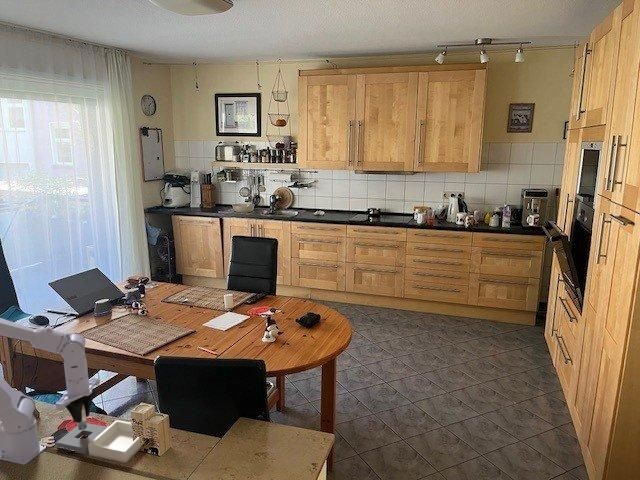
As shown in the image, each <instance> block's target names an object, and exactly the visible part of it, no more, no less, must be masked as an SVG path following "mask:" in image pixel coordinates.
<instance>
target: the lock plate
mask: <svg viewBox="0 0 640 480" xmlns="http://www.w3.org/2000/svg"><path fill="white" fill-rule="evenodd" d="M108 427H109V426H103V425H98V424H93V423H89V422H87V428H86V429H84V430H78V425H77V426H75V427H74V428H73V429H71V430H70V431H68V432H67V433H66V434H64V435H63V436H62V437H61V438H60V439H58V440H57V441H56V445H55V446H56V448H57V447H64V448H68V449H71V450H74V451H75V452H74V453H77V454H81V455H85V456H87V455H89V449H88V444H89V443H90V442H91V441H93V440H94V439H95V438H96V437H97V436H98V435H100V434H101V433H102V432H103V431H104V430H105V429H107V428H108ZM82 435H87V436H88V437H86V438H81V439H79V438H80V437H81V436H82Z"/></svg>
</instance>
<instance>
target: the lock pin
mask: <svg viewBox="0 0 640 480" xmlns="http://www.w3.org/2000/svg"><path fill="white" fill-rule="evenodd" d="M87 423H88V421H87V417H86V411H85V403H83V406H82V422H80V423H78V422H76V424H77V426H78V430H84V429H86V428H87Z"/></svg>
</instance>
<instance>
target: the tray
mask: <svg viewBox="0 0 640 480" xmlns="http://www.w3.org/2000/svg"><path fill="white" fill-rule="evenodd" d="M131 423H132V422H130V421H124V420H120V419H116V420H114V422H112V423H111V424H110V425H109V426H107V427H108V428H107V429H105V430H104V431H103V432H102V433H101V434H100V435H98V436H97V437H96V438H95V439H94V440H93V441H91V442H90V443H89V444H88V449H89V453H88V455H89V456H91V457H95V458H100V459H104V460H105V459H106V460H109V461H114V462H119V463H124V464H127V463H128V462H129V461H130V460H131V459H132V458H133V457H134V456H135V454H136V453H137V452H139V451H140V449H141V448H140V438H139V437H137V438H136V439H135V440H134V441H133V438H132V424H131Z"/></svg>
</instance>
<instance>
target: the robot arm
mask: <svg viewBox="0 0 640 480" xmlns="http://www.w3.org/2000/svg"><path fill="white" fill-rule="evenodd" d="M0 336H1V337H5V338H11V339H15V340H19V341H24V342H25V341H26V342H29V343H30V344H31V346H32V348H33V349H38V350H42V351H45V352H48V353H49V352H50V353H54V354H57V355H60V356H61V358H62V359H63V360H64V361H63V368H64V370H63V371H64V378H65V385H66V392H65V393H64V394H63V395H62V397H60V399H59V400H58V401H57V402H55V409H56V410H58V411H64V410H65V409H66V410H67V411H68V412H69V414H70V416H71V417H72V420H73V422H74V423H77V422H78V423H80V422H82V406H83V403H85V411H86V418H88V417H90V411H91V406H92V403H93V400H94V398H95V396H96V390H93V388H94V387H95V386H99V385H100V378H98V377H92V378H91V379H90V378H89V372H88V371H89V370H88V363H87V362H88V361H87V358H86V357H87V355H86V351H85V349H86V342H87V341H86V338H85V337H84V336H83V335H82V334H80V333H78V332H71V333H70V332H66V333H65V332H61V331H59V330H54V329H53V327H52V326H49V325H48V326H47V327H45V326H41V327H39V328H36V329H34V328H32V327H29V326H27V325H24V324H23V325H22V324H19V323H16V322H13V321H11V320H9V319H5V318H2V317H0ZM35 409H36V401H35V400H34V399H33V398H32V397H31V396H29V395H25V394H24V393H23V392H22V391H20V390H14V389H13V388H12V386H11V385H10V384H9V383H8V382H7V381H6V380H5V379H4V377H2V376H1V375H0V422H1V423H2V425H1V427H0V460H3V461H7V462H10V463H14V464H20V465H23V466H24V465H27V464H28V463H29V462H31V461H32V460H33V459H34V458H36V457H37V456H38V455H39V454H41V453H42V452H43V451H45V450H46V449H47V448H46V446H44V447H43V446H41V445H40V444H41V443H40V439H39V432H38V426H37V425H38V423H37V418H36V417H35V416H34V411H35Z"/></svg>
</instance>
